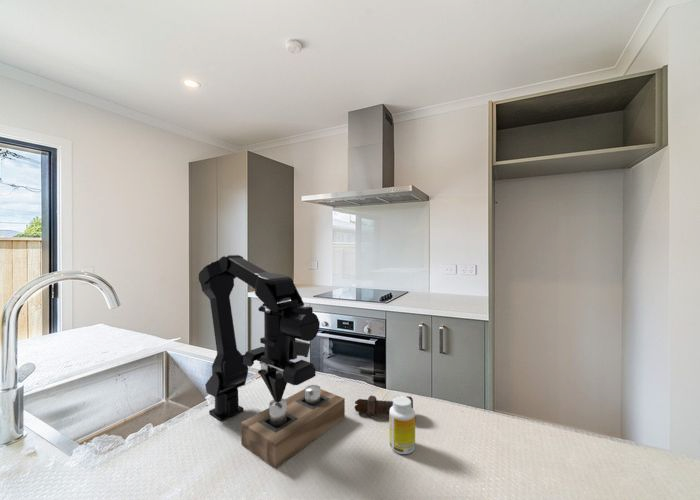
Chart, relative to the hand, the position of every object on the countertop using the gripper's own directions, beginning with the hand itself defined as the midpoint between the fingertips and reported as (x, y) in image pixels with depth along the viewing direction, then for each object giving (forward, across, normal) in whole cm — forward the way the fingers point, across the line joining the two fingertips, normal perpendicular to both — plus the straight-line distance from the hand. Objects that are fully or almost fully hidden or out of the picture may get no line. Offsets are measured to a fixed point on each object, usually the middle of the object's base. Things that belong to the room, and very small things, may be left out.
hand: (278, 401), depth 66 cm
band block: (+9, 0, -6) cm, 11 cm away
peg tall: (+5, 0, 0) cm, 5 cm away
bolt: (+10, -14, -24) cm, 29 cm away
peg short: (+6, 0, -11) cm, 13 cm away
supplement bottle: (+9, -23, -16) cm, 29 cm away
